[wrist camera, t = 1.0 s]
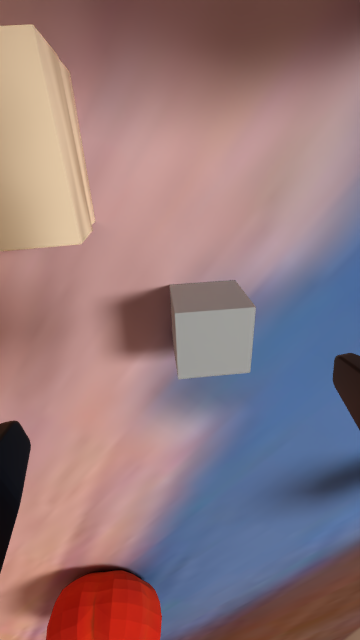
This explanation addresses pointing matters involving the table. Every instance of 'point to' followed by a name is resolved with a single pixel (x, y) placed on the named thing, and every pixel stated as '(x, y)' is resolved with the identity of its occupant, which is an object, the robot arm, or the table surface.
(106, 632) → the tomato
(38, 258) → the table surface
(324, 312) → the table surface
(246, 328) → the cube
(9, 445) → the robot arm
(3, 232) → the slab upper
